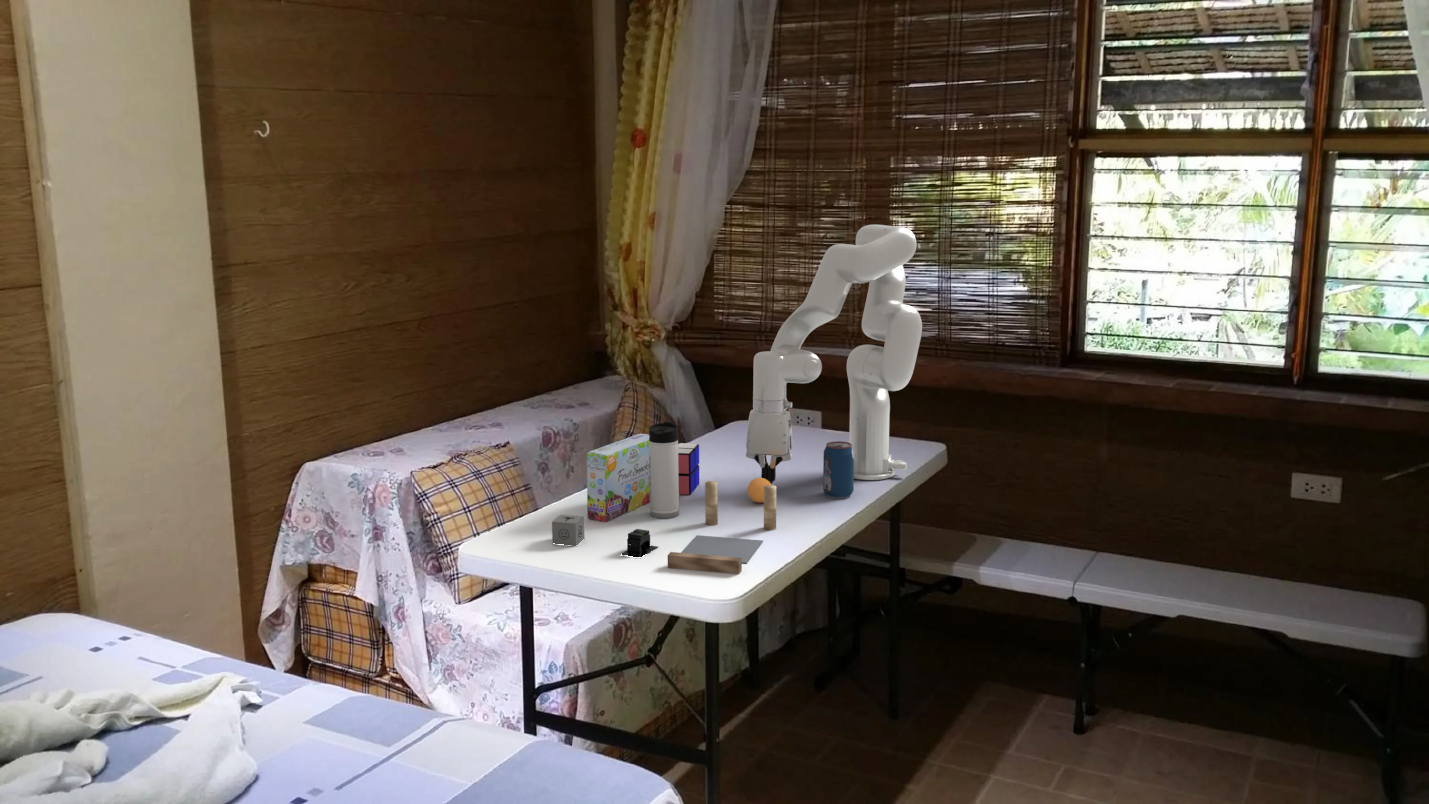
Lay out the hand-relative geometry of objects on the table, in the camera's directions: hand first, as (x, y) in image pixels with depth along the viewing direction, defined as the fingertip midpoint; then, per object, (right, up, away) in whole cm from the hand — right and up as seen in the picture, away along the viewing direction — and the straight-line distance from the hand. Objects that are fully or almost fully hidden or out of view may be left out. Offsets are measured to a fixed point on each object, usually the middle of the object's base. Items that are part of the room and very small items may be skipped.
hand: (768, 483), depth 287 cm
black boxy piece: (-27, -12, -41) cm, 51 cm away
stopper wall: (-14, -13, -52) cm, 55 cm away
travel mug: (-23, -6, -17) cm, 29 cm away
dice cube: (-42, -10, -35) cm, 56 cm away
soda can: (+16, -3, -3) cm, 16 cm away
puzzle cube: (-22, -2, +3) cm, 22 cm away
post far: (-13, -7, -24) cm, 28 cm away
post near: (-1, -8, -27) cm, 28 cm away
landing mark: (-11, -10, -40) cm, 43 cm away
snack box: (-32, -5, -12) cm, 35 cm away
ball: (-2, -1, -9) cm, 9 cm away
